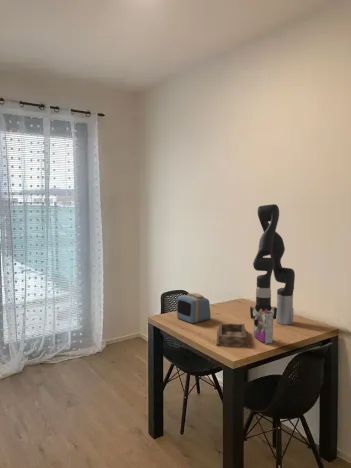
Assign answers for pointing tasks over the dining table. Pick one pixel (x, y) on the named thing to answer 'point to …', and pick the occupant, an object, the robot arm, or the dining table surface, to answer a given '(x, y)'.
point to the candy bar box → (264, 327)
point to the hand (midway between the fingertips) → (263, 326)
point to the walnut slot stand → (232, 335)
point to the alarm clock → (193, 308)
